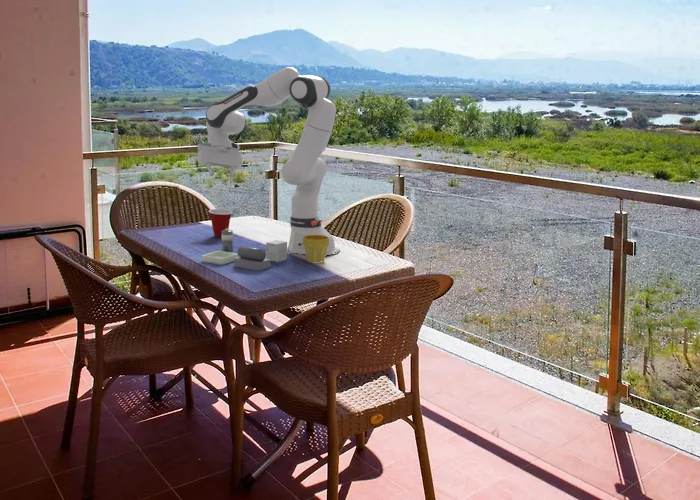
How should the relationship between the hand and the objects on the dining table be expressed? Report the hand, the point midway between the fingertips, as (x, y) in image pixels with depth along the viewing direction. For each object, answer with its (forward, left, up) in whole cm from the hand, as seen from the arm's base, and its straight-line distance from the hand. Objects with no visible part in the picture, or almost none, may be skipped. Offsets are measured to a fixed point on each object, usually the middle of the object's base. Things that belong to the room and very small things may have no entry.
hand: (221, 175), depth 286 cm
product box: (-35, +9, -30) cm, 47 cm away
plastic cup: (+12, -12, -30) cm, 34 cm away
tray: (-18, +23, -30) cm, 42 cm away
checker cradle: (-34, +23, -30) cm, 51 cm away
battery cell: (-14, +14, -30) cm, 36 cm away
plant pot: (-49, +2, -30) cm, 58 cm away
